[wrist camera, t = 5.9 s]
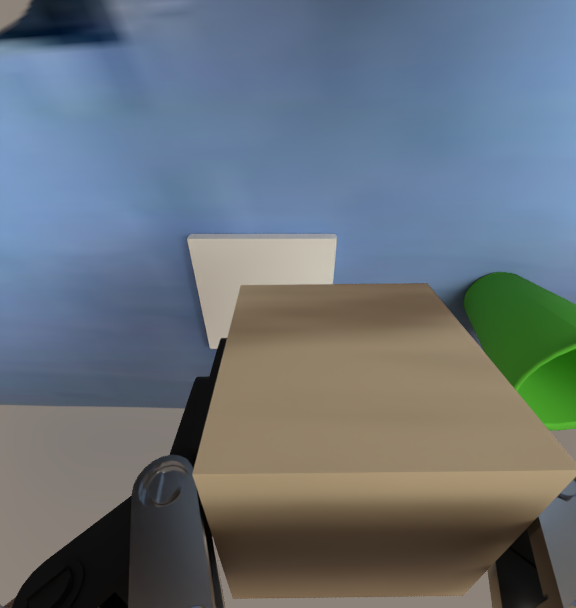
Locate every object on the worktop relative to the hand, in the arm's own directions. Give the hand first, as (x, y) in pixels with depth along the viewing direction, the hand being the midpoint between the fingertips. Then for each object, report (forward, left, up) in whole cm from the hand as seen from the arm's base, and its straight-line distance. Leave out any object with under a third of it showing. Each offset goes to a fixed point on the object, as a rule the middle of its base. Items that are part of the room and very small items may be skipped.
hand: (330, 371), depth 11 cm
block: (0, 0, -1) cm, 1 cm away
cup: (+7, +17, -17) cm, 25 cm away
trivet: (+7, -4, -16) cm, 18 cm away
